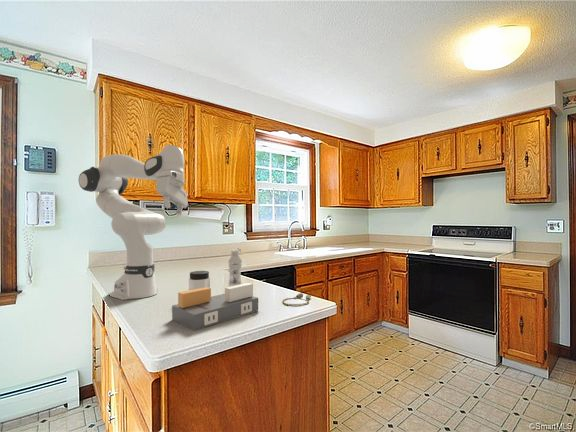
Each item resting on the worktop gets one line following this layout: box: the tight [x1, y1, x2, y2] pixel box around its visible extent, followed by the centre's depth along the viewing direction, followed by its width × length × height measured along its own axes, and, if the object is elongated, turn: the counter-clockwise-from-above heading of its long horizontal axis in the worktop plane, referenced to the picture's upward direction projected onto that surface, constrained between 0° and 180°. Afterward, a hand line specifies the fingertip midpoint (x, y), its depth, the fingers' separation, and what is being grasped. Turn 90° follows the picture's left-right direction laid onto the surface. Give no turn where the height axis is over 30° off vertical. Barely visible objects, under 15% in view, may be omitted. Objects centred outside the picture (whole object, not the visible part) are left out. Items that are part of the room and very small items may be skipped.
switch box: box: [171, 293, 259, 331], centre depth 110 cm, size 22×27×5 cm
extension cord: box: [282, 292, 312, 307], centre depth 126 cm, size 12×16×2 cm
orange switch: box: [177, 287, 212, 308], centre depth 105 cm, size 3×11×5 cm, turn 137°
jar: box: [188, 270, 211, 291], centre depth 130 cm, size 9×8×12 cm
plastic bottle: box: [227, 249, 243, 287], centre depth 142 cm, size 6×7×20 cm
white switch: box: [224, 282, 254, 302], centre depth 112 cm, size 3×11×5 cm, turn 137°
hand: (173, 211), depth 121 cm, fingers open, 8 cm apart
